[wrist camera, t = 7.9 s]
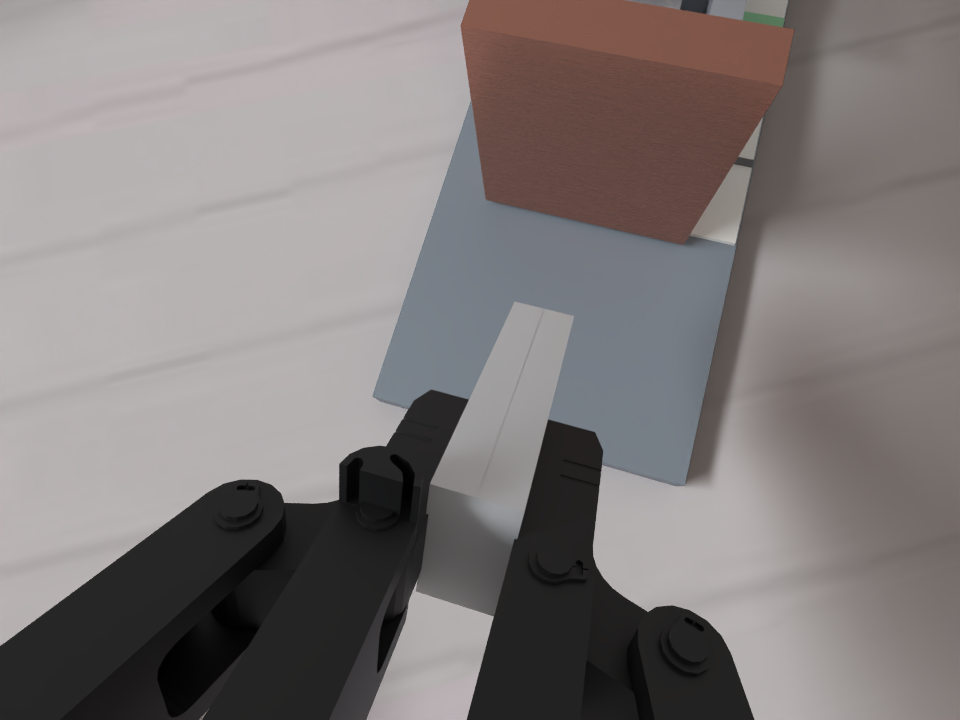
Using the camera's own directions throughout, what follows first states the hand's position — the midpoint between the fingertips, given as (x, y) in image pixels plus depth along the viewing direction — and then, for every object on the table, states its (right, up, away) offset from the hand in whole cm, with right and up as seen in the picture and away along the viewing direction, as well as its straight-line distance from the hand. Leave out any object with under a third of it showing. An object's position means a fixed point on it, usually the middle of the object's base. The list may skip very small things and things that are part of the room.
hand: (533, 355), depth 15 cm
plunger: (+5, +11, +9) cm, 15 cm away
